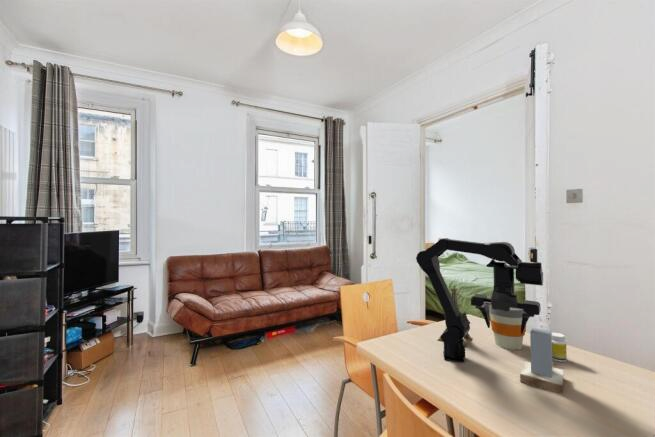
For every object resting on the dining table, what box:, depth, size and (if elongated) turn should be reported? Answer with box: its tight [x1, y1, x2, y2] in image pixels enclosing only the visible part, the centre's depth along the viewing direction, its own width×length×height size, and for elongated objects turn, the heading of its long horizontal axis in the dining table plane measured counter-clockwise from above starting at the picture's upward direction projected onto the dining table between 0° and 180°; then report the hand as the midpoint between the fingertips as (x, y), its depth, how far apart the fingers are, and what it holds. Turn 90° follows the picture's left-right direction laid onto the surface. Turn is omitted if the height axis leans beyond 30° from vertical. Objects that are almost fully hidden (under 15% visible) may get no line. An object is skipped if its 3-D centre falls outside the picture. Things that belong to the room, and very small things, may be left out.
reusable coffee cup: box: [489, 304, 527, 350], centre depth 117 cm, size 13×12×15 cm
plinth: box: [519, 360, 564, 394], centre depth 91 cm, size 10×10×2 cm
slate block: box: [529, 327, 553, 378], centre depth 91 cm, size 5×5×12 cm
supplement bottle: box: [552, 332, 568, 363], centre depth 105 cm, size 5×5×8 cm
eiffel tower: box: [436, 286, 474, 348], centre depth 123 cm, size 11×11×25 cm
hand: (504, 330), depth 97 cm, fingers open, 9 cm apart
